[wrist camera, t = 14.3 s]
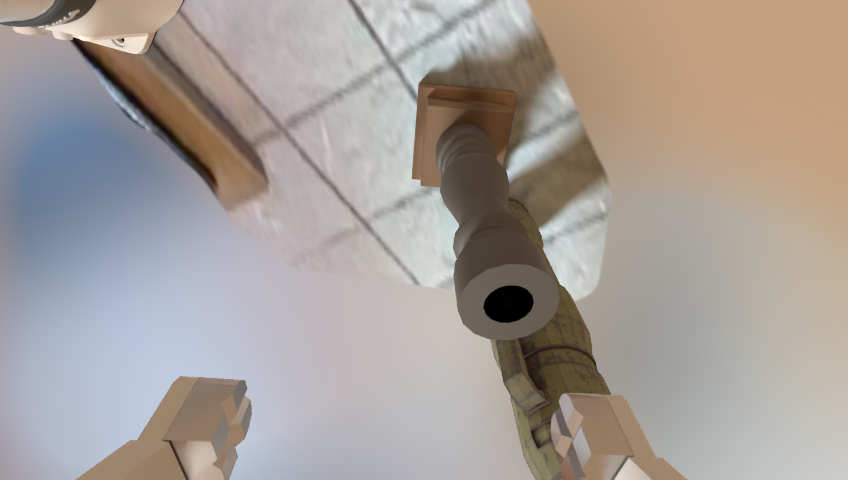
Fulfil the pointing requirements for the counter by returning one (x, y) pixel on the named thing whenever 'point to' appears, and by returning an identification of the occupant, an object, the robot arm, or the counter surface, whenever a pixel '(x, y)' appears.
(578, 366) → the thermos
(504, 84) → the counter surface
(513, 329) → the candle holder
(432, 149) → the walnut stand
